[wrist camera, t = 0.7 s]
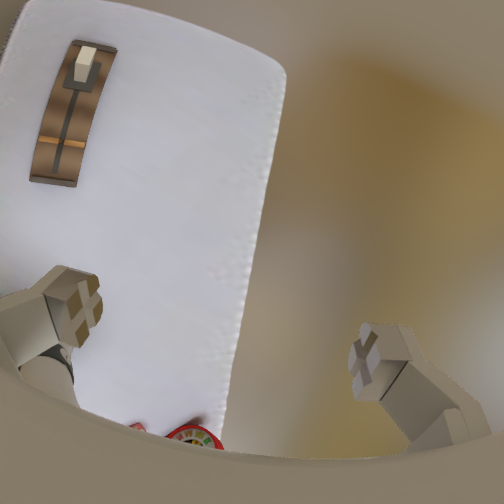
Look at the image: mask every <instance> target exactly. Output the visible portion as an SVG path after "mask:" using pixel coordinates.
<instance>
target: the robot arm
mask: <svg viewBox="0 0 504 504" xmlns="http://www.w3.org/2000/svg"><path fill="white" fill-rule="evenodd" d="M99 287H100V285H99V280H98V277H97V276H96V275H95V274H91V273H88V272H84V271H81V270H77V269H74V268H69V267H66V266H62V265H56V266H55V267H54V268H53V269H52V270H50V271H49V272H48V273H47V274H46V275H45V276H44V277H43V278H42V279H40V280H39V281H38V282H37V283H36V284H35V285H34V286H33V287H32V288H31V289H30V290H29V289H24V290H21V291H18V292H15V293H12V294H10V295H7V296H4V297H1V298H0V504H504V431H501V432H498V433H495V434H492V432H491V429H490V427H489V425H488V422H487V419H486V417H485V414H484V412H483V409H482V407H481V405H480V403H479V402H478V401H477V400H475V399H474V398H473V397H472V396H471V395H470V394H468V393H467V392H466V391H465V390H464V389H463V388H461V387H460V386H459V385H458V384H457V383H455V382H454V381H453V380H452V379H451V378H450V377H448V376H447V375H446V374H445V373H443V372H442V371H441V370H440V369H438V367H436V366H435V365H434V364H433V363H432V362H427V361H426V359H425V357H424V355H423V353H422V350H421V348H420V346H419V343H418V341H417V339H416V337H415V335H414V333H413V331H412V329H411V327H409V326H408V325H389V324H378V323H369V322H365V323H364V324H363V325H362V326H361V329H360V331H359V335H360V339H359V340H357V341H356V342H354V343H353V346H352V348H351V350H350V354H349V360H348V364H349V365H348V366H349V372H350V373H351V374H352V375H353V376H354V377H355V379H354V381H353V382H352V387H353V393H354V398H355V401H380V404H381V405H382V406H383V408H384V409H385V410H386V412H387V413H388V414H389V415H390V416H391V418H392V419H393V420H394V422H395V423H396V424H397V426H398V427H399V428H400V429H401V431H402V432H403V433H404V435H405V436H406V437H407V438H408V440H409V441H410V442H411V444H410V445H409V446H408V447H407V448H406V449H405V450H404V451H402V452H401V454H398V455H390V456H380V457H367V458H345V459H308V458H288V457H287V458H286V457H274V456H264V455H255V454H246V453H239V452H233V451H226V450H220V449H215V448H209V447H204V446H199V445H195V444H190V443H186V442H181V441H177V440H173V439H169V438H165V437H162V436H158V435H155V434H151V433H148V432H144V431H141V430H138V429H135V428H132V427H129V426H126V425H123V424H120V423H117V422H114V421H111V420H109V419H106V418H103V417H101V416H98V415H96V414H93V413H91V412H88V411H86V410H83V409H81V408H80V406H79V404H78V402H77V399H76V396H75V392H74V388H73V385H74V376H73V368H72V363H71V353H72V349H73V346H74V347H77V348H81V346H82V345H83V343H84V342H85V340H86V339H87V338H88V336H89V335H90V334H89V329H90V328H92V327H94V326H96V325H97V323H98V322H99V320H100V318H101V315H102V312H103V302H102V298H101V296H100V295H99V294H98V292H97V290H98V288H99Z"/></svg>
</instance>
